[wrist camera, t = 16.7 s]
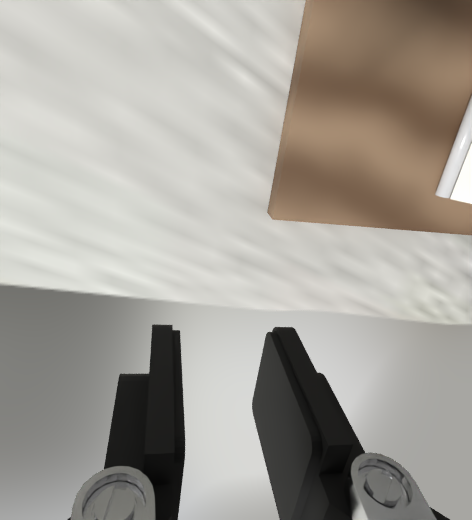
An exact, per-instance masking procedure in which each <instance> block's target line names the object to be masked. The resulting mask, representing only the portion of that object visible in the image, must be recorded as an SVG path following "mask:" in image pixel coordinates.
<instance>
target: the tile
mask: <svg viewBox="0 0 472 520" xmlns="http://www.w3.org/2000/svg"><path fill="white" fill-rule="evenodd" d="M435 195H436V196H439V197H443V198H450V199H452V200H456V201H461V202H465V203H470V204H472V95H471V98H470V100H469V103H468V106H467V109H466V111H465V114H464V117H463V119H462V122H461V125H460V128H459V130H458V133H457V136H456V138H455V141H454V144H453V147H452V149H451V152H450V155H449V157H448V160H447V163H446V166H445V168H444V171H443V174H442V176H441V179H440V182H439V185H438V187H437V190H436V193H435Z"/></svg>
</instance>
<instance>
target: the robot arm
mask: <svg viewBox="0 0 472 520" xmlns="http://www.w3.org/2000/svg"><path fill="white" fill-rule="evenodd" d="M252 409H253V416H254V419H255V423H256V427H257V431H258V435H259V439H260V443H261V447H262V451H263V455H264V459H265V463H266V467H267V471H268V474H269V479H270V483H271V486H272V490H273V494H274V498H275V502H276V506H277V510H278V514H279V518H280V520H450V519H448V518H446V517H445V516H443V515H442V514H440V513H439V512H437V511H435V510H434V509H432V508H431V507H429V505H428V503H427V502H426V500H425V498H424V496H423V494H422V493H421V491H420V489H419V487H418V485H417V484H416V482H415V480H414V479H413V478H412V477H411V475H410V473H409V472H408V471H407V470H406V469H405V468H404V467H402V466H401V465H400V464H399V463H397V462H396V461H394V460H393V459H391V458H389V457H386V456H384V455H382V454H377V453H365V451H364V450H363V448H362V446H361V444H360V442H359V440H358V438H357V436H356V434H355V433H354V431H353V429H352V427H351V425H350V423H349V421H348V419H347V417H346V415H345V413H344V412H343V410H342V408H341V406H340V404H339V402H338V400H337V398H336V396H335V394H334V393H333V391H332V389H331V387H330V385H329V383H328V381H327V379H326V378H325V376H324V375H323V374H321V373H317V372H316V370H315V368H314V366H313V364H312V362H311V360H310V358H309V356H308V354H307V352H306V350H305V348H304V346H303V344H302V342H301V340H300V338H299V336H298V334H297V332H296V331H295V329H294V328H292V327H275V328H274V329H273V331H272V332H268V333H267V334H266V338H265V343H264V348H263V353H262V357H261V362H260V367H259V372H258V377H257V382H256V387H255V391H254V397H253V402H252ZM184 429H185V427H184V407H183V387H182V365H181V343H180V331H179V330H172V325H152V341H151V357H150V372H149V374H120V376H119V381H118V386H117V393H116V399H115V405H114V411H113V417H112V423H111V429H110V436H109V442H108V448H107V454H106V460H105V466H104V470H102V471H100V472H98V473H96V474H95V475H94V476H92V477H91V478H90V479H89V480H88V481H86V482H85V483H84V484H83V486H82V487H81V489H80V490H79V492H78V493H77V495H76V498H75V501H74V504H73V508H72V514H71V517H70V518H69V519H68V520H178V512H179V503H180V495H181V494H180V493H181V486H182V477H183V468H184V460H185V430H184Z"/></svg>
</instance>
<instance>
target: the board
mask: <svg viewBox="0 0 472 520" xmlns="http://www.w3.org/2000/svg"><path fill="white" fill-rule="evenodd" d="M471 95H472V0H306V3H305V8H304V14H303V19H302V25H301V30H300V36H299V41H298V47H297V52H296V58H295V63H294V69H293V74H292V80H291V85H290V91H289V96H288V102H287V108H286V113H285V119H284V124H283V130H282V135H281V141H280V146H279V152H278V157H277V163H276V168H275V174H274V179H273V185H272V190H271V196H270V201H269V207H268V212H267V213H268V214H269V215H270V217H271V218H272V219H274V220H286V221H299V222H311V223H324V224H336V225H349V226H362V227H374V228H387V229H399V230H412V231H425V232H437V233H450V234H462V235H472V204H470V203H465V202H461V201H456V200H452V199H450V198H443V197H439V196H436V195H435V193H436V190H437V187H438V185H439V182H440V179H441V176H442V174H443V171H444V168H445V166H446V163H447V160H448V157H449V155H450V152H451V149H452V147H453V144H454V141H455V138H456V136H457V133H458V130H459V128H460V125H461V122H462V119H463V117H464V114H465V111H466V109H467V106H468V103H469V100H470V98H471Z"/></svg>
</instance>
